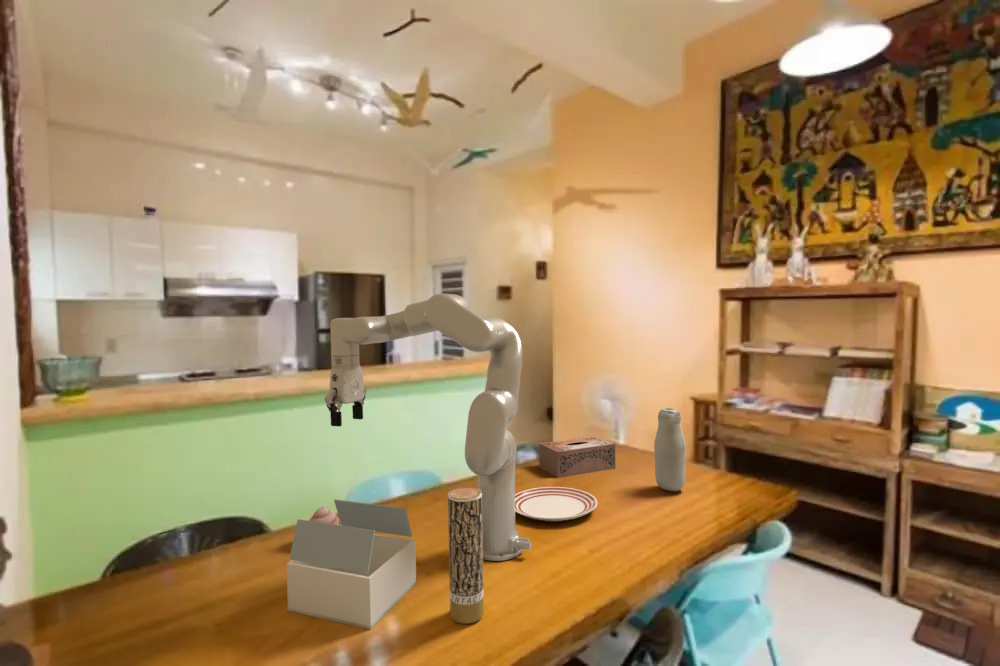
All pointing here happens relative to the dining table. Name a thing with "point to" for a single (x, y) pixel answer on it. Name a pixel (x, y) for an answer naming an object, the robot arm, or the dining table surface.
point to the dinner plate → (554, 503)
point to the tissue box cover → (576, 456)
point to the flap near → (332, 545)
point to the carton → (354, 585)
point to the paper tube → (466, 555)
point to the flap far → (374, 517)
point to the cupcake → (325, 516)
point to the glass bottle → (670, 451)
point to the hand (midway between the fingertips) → (347, 422)
